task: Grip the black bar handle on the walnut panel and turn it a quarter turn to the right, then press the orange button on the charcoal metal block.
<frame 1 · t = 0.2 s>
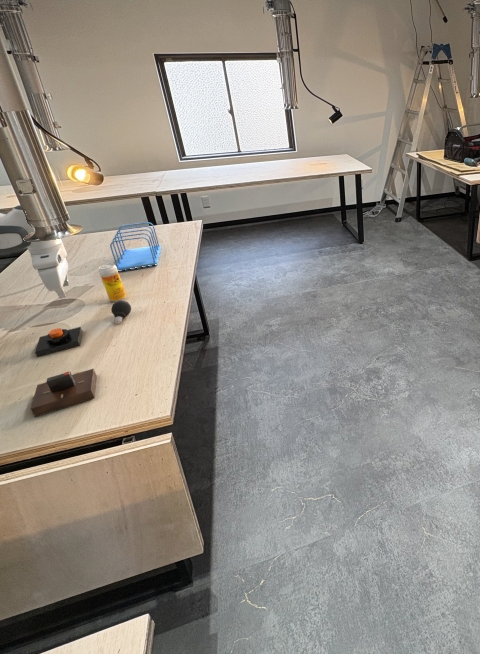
hand: (64, 291, 138), 18 cm above the table, tool pointing down, fingers open, 8 cm apart
button block: (61, 344, 142), on the table
light bulb: (123, 318, 157), on the table
start button: (56, 333, 140), point 4 cm above the table, slide at 0.1 cm
yellow canister: (118, 299, 170), on the table
rod panel: (67, 395, 120), on the table
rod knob: (61, 381, 117), point 5 cm above the table, hinge at 0.0°
file sorter: (140, 260, 206), on the table
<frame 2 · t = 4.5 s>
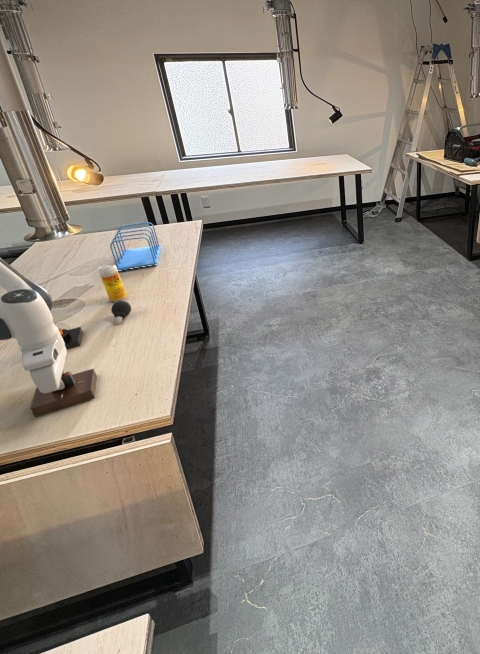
hand: (62, 384, 118), 4 cm above the table, tool pointing down, fingers closed on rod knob, 2 cm apart
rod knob: (61, 381, 117), point 5 cm above the table, hinge at 0.1°, touching gripper
everything else where it was.
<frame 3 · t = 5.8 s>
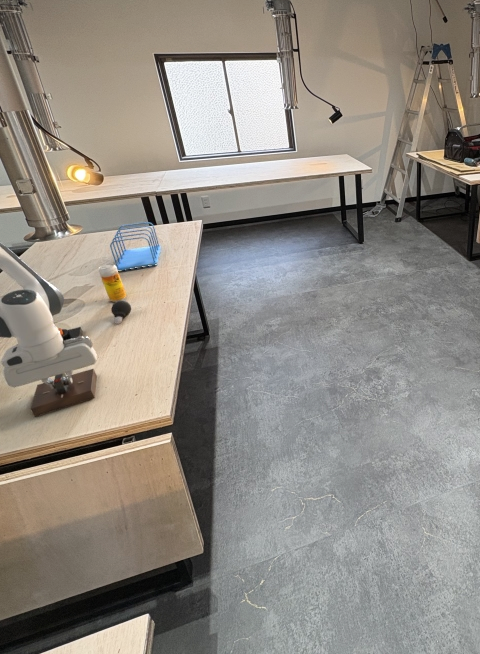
hand: (62, 385, 118), 4 cm above the table, tool pointing down, fingers closed
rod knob: (61, 381, 117), point 5 cm above the table, hinge at -89.6°
everything else where it was.
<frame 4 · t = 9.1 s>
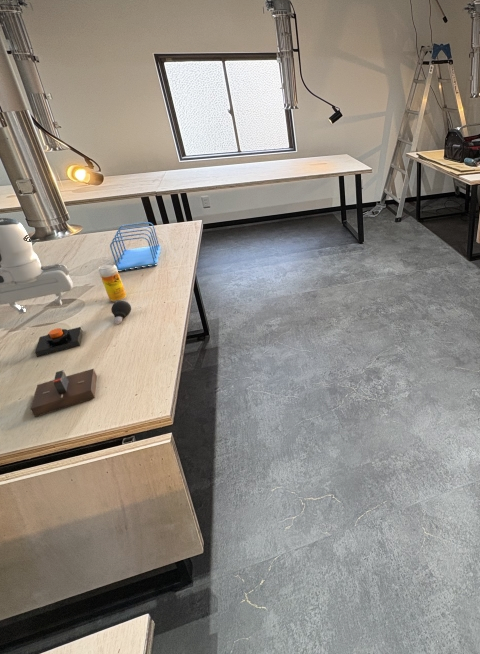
hand: (41, 308, 131), 17 cm above the table, tool pointing down, fingers open, 8 cm apart
nothing on the table moved.
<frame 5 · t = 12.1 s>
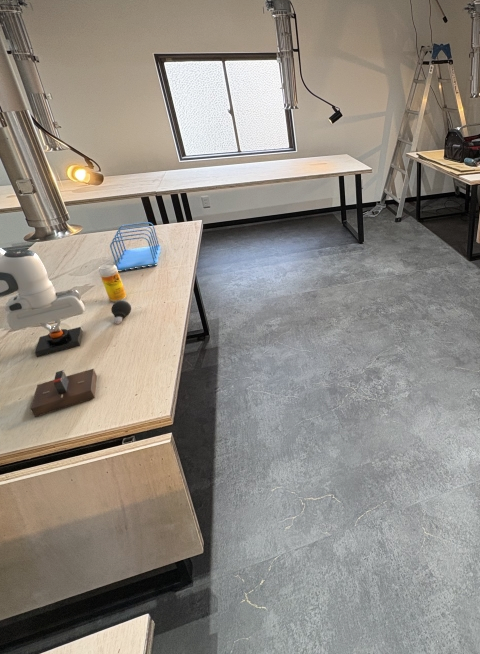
hand: (55, 331, 140), 5 cm above the table, tool pointing down, fingers closed, pressing on start button
start button: (56, 334, 141), point 4 cm above the table, slide at -0.2 cm, touching gripper
everything else where it was.
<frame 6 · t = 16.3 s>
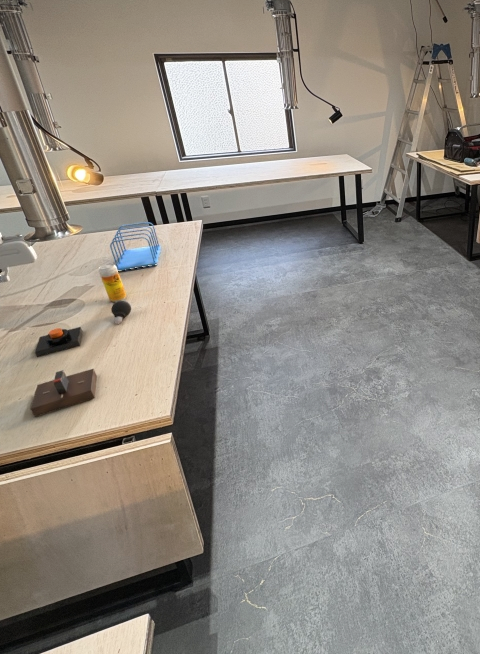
hand: (3, 281, 126), 27 cm above the table, tool pointing down, fingers closed
start button: (56, 333, 140), point 4 cm above the table, slide at 0.1 cm
everything else where it was.
at the end: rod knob at -90° (first picture: +0°); start button pushed in 1.1 cm at the most during the clip, back to where it started at the end; start button slide at 0.1 cm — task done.
